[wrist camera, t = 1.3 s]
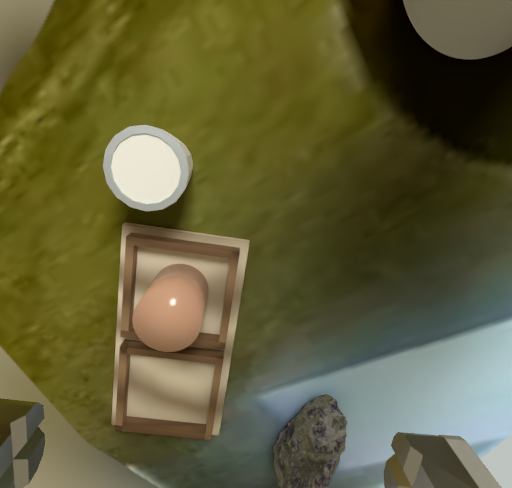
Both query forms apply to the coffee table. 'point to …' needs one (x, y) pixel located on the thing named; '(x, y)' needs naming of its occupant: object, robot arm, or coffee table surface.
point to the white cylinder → (147, 167)
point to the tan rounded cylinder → (172, 308)
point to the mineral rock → (311, 445)
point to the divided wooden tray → (188, 359)
